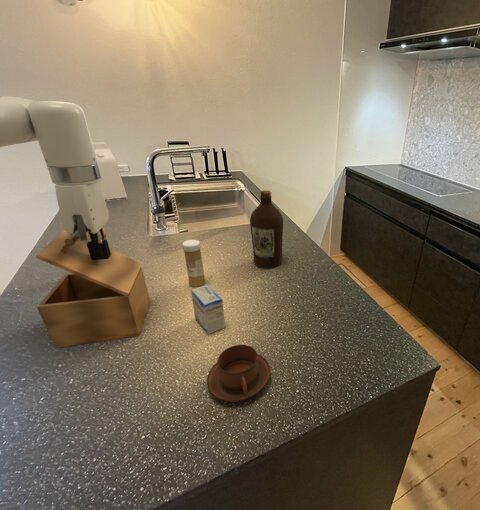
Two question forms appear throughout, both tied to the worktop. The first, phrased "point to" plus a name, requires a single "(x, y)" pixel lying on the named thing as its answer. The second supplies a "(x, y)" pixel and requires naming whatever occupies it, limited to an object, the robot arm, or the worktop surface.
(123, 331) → the chest
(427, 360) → the worktop surface
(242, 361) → the cup and saucer
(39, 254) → the lid
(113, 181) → the milk
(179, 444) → the worktop surface
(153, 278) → the worktop surface
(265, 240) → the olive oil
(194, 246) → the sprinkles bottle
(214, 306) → the medicine box
